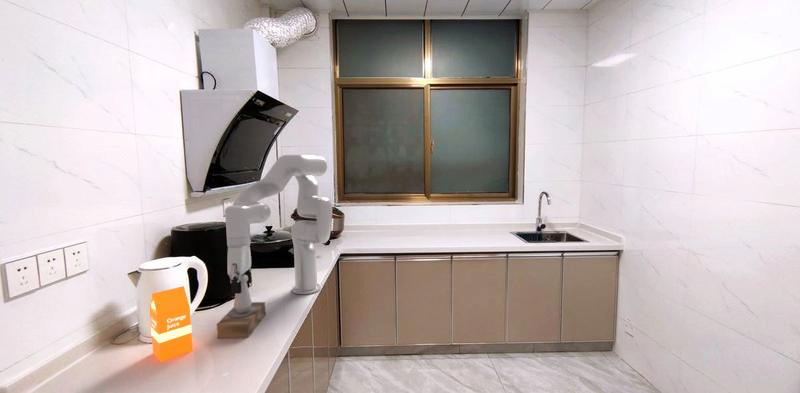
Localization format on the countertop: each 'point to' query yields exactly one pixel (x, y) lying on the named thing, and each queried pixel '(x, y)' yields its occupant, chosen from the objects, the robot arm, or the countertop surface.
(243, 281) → the salt shaker
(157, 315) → the orange juice
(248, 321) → the walnut stand
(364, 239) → the countertop surface
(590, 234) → the countertop surface
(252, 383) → the countertop surface
